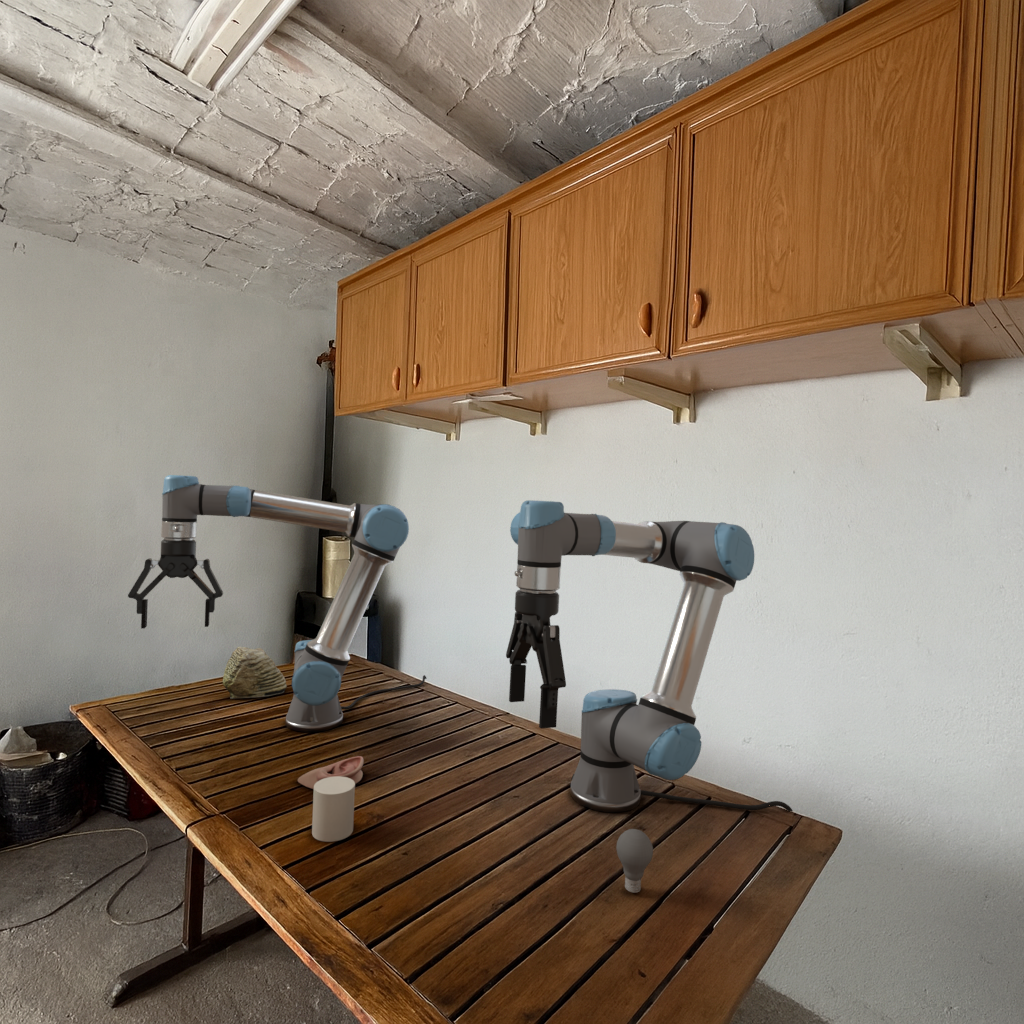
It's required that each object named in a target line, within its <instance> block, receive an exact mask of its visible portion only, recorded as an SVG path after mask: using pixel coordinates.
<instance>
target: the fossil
mask: <svg viewBox="0 0 1024 1024" xmlns="http://www.w3.org/2000/svg"><path fill="white" fill-rule="evenodd" d="M222 676H223V677H222V685H223V687H224V688H225V690H226V691H228V693H229V698H230V699H250V698H264V697H271V696H275V695H281V694H284V693H285V691H286V689H287V687H288V686H287V680H286V678H285V676H284V674H283V673H282V672H281V669H279V668H278V667H277V665H276V663H275V662H274V660H273V659H272V658H271V657H270V656H269V655H268V654H267V653H266V652H265V650H264V649H263V648H260V647H258V648H251V647H247V646H246V647H245V646H238V647H237V648H236V649H235V650H233V651H232V653H231V656H230V657H229V659H228V660H227V663H226V666H225V668H224V671H223V675H222Z"/></svg>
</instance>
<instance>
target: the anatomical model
mask: <svg viewBox="0 0 1024 1024" xmlns="http://www.w3.org/2000/svg"><path fill="white" fill-rule="evenodd" d="M363 766H364V757H363V756H361V755H356V756H352V757H347V758H346V759H342V760H340V761H336V762H334V763H331V764H328V765H326V766H322V767H318V768H315V769H312V770H310V771H308V772H306V773H304V774H302V775H300V776H299V777H298V778H297V782H298V784H300V785H302V786H304V787H306V788H309V789H312V790H314V785H315V783H316V782H318V781H319V780H321V779H324V778H328V777H335V776H341V777H347V778H350V779H352V780H353V781H354V782H355V785H356V784H358V783H359V782H360V781H361V780H362V779H363V775H364V773H363V771H362V768H363Z"/></svg>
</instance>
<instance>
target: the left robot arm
mask: <svg viewBox="0 0 1024 1024" xmlns="http://www.w3.org/2000/svg"><path fill="white" fill-rule="evenodd" d="M161 495H162V496H161V498H162V500H161V501H162V502H161V504H162V506H161V507H162V508H161V510H162V511H161V512H162V513H161V530H160V531H161V533H160V536H161V538H162V540H161V541H160V557H159V559H153V558H150V557H149V558H146V560H145V561H144V566H143V570H142V571H141V572H140V574H139V576H138V578H137V579H136V581H135V582H134V584H133V586H132V587H131V589H130V590H129V592H128V593H127V597H128V598H129V599H134V600H135V601H136V614H137V615H141V617H140V629H146V628H147V627H148V602H149V599H148V598H146V596H148V595H149V594H150V592H151V591H153V589H154V588H155V587H156V586H157V585H158V584H159V583H161V581H162V580H163V579H164V578H166V577H168V578H169V579H175V578H180V579H185V578H188V579H190V580H191V581H192V582H193V583H194V584H195V585H196V586H197V588H198V589H200V590H201V592H202V593H203V594H204V595H205V596H206V597H207V598H206V599H205V604H204V605H205V607H204V608H205V609H204V628H205V627H206V628H208V627H209V625H210V613H214V611H215V608H216V600H217V599H218V598H221V597H222V596H223V595H224V591H223V589H222V587H221V585H220V583H219V580H218V579H217V577H216V576H215V573H214V572H213V570H212V567H211V562H210V561H211V560H210V559H209V558H205V559H197V541H196V540H195V538H197V528H198V516H214V517H215V516H217V517H232V518H236V517H237V518H239V517H245V518H252V519H260V520H266V521H272V522H278V523H283V524H284V523H285V524H290V525H297V526H303V527H309V528H315V529H322V530H327V531H328V530H329V531H334V532H339V533H340V532H341V533H345V534H346V536H347V537H349V538H354V539H353V541H352V543H351V546H352V549H353V552H354V553H353V555H352V558H351V560H350V562H349V565H348V567H347V570H346V571H345V574H344V575H343V577H342V580H341V582H340V585H339V587H338V588H337V591H336V593H335V596H334V597H333V600H332V602H331V604H330V607H329V608H328V611H327V613H326V615H325V618H324V619H323V622H322V625H321V627H320V629H319V631H318V633H317V636H316V637H315V638H313V639H306V640H305V639H304V640H300V641H298V642H296V643H295V648H294V650H293V651H294V667H293V673H292V677H291V688H292V691H293V695H292V696H293V697H292V699H291V702H290V704H289V708H288V711H287V713H286V715H285V726H286V728H287V729H289V730H291V731H294V732H295V731H296V732H301V733H316V732H325V731H329V730H332V729H335V728H337V727H339V726H340V725H342V723H343V722H344V713H343V710H349V709H351V708H353V707H354V706H355V705H356V704H357V703H358V702H359V701H360V700H362V699H365V698H367V697H368V696H371V695H375V694H379V693H384V692H392V691H398V690H399V691H400V690H406V689H411V688H416V687H420V686H422V685H423V684H424V683H425V680H427V676H426V675H425V674H424V675H422V680H421V681H420V682H419V683H416V684H415V683H414V684H411V685H410V684H409V685H402V686H398V687H390V688H381V689H378V690H372V691H369V692H367V693H364V694H363V695H361V696H359V697H357V698H356V699H354V701H353V702H352V703H351V704H349V705H346V706H345V705H341V702H340V699H339V695H338V693H339V692H340V690H341V687H342V678H343V676H344V673H345V672H346V669H347V666H348V664H349V662H350V660H351V656H350V654H349V648H350V646H351V643H352V641H353V639H354V636H355V634H356V632H357V630H358V628H359V625H360V624H361V621H362V620H363V619H362V618H363V616H364V614H365V612H366V610H367V608H368V605H369V603H370V601H371V599H372V597H373V594H374V592H375V589H376V588H377V585H378V583H379V581H380V578H381V576H382V574H383V572H384V570H385V567H386V566H388V565H390V564H393V563H394V561H395V559H396V557H397V555H398V552H399V550H400V548H401V547H402V546H403V545H404V544H405V542H406V541H407V540H408V536H409V533H410V532H409V531H410V525H409V521H408V518H407V516H406V515H405V513H404V512H403V511H402V510H401V509H400V508H398V507H397V506H394V505H392V504H388V503H387V504H386V503H385V504H384V503H379V504H367V503H365V504H364V503H358V502H354V503H352V504H350V505H348V504H342V503H338V502H337V503H336V502H330V501H325V500H319V499H313V498H307V497H300V496H294V495H289V494H282V493H276V492H271V491H264V490H260V489H259V490H258V489H252V488H250V487H248V486H242V485H241V486H240V485H222V484H221V485H219V484H218V485H217V484H202V483H200V482H199V478H198V476H194V475H179V474H176V475H175V474H169V475H166V476H165V477H164V478H163V487H162V493H161ZM156 566H158V567H159V568H160V570H161V572H160V573H159V574H158V575H157V576H156V577H155V578H154V579H153V580H152V581H151V582H150V583H149V584H148V585H147V586H146V587H145V588H144V590H142V591H141V592H140V593H138V592H139V590H140V588H141V587H142V585H143V583H144V582H145V580H146V579H147V577H148V576H149V574H150V572H151V570H152V569H154V568H155V567H156ZM197 566H199V567H200V568H201V569H203V570H204V573H205V576H206V577H207V578H208V580H209V582H210V585H211V587H212V588H213V590H212V589H211V588H210V587H209V586H208V585H207V584H206V583H205V582H204V581H203V580H202V579H201V577H200V576H199V575H198V574H197V573H196V571H195V569H196V567H197ZM213 591H214V592H213Z"/></svg>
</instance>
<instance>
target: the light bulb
mask: <svg viewBox="0 0 1024 1024" xmlns="http://www.w3.org/2000/svg"><path fill="white" fill-rule="evenodd" d="M615 849H616V854H617V857H618V859H619V861H620V863H621V865H622V867H623V873H624V874H623V875H624V876H625V878H624V888H625V890H627V891H628V892H630V893H634V894H635V893H639V892H640V891H641V889H642V887H641V886H642V879H643V877H644V875H645V871H646V868H647V867H648V866H649V864H650V863H651V861H652V859H653V855H654V847H653V843H652V841H651V838H649V836H648V835H647V834H646V833H645V832H643V831H642V830H641V829H636V828H629V829H627V830H625V831H623V832H622V833H621V834H620V835H619V837H618V839H617V841H616V847H615Z"/></svg>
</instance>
